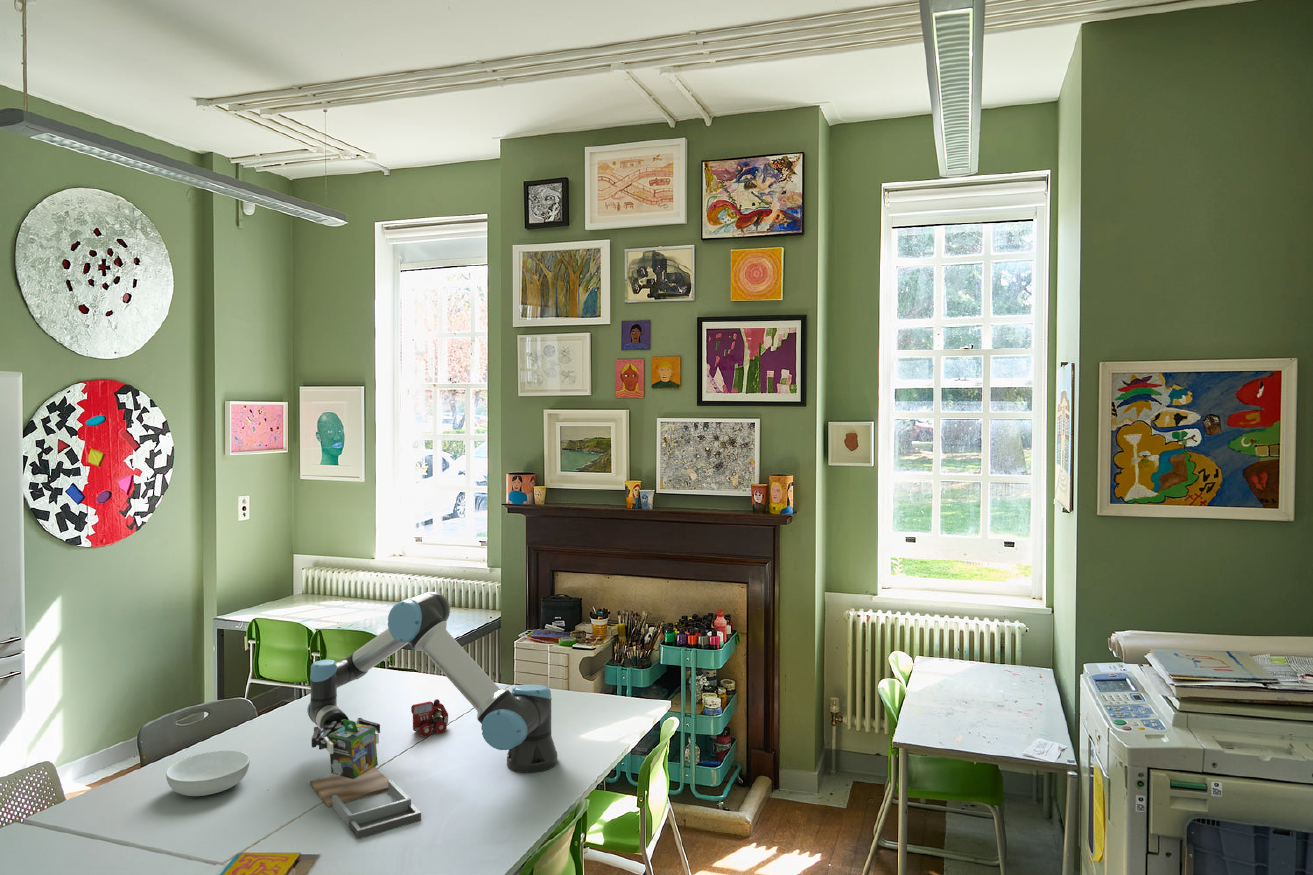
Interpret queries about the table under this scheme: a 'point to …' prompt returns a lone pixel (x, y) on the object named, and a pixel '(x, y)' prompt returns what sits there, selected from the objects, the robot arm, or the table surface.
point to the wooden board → (350, 786)
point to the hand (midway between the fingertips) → (355, 743)
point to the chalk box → (353, 749)
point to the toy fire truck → (429, 717)
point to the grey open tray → (379, 814)
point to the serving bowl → (207, 772)
